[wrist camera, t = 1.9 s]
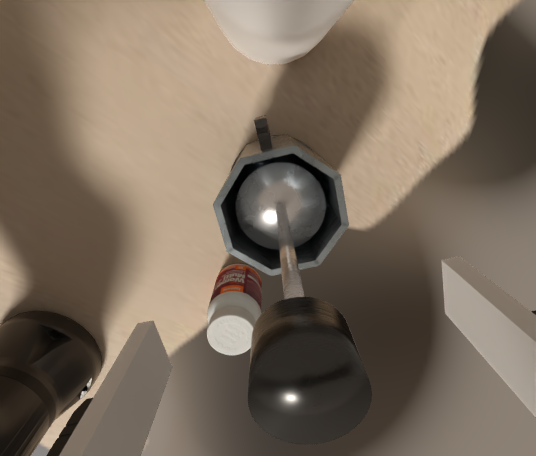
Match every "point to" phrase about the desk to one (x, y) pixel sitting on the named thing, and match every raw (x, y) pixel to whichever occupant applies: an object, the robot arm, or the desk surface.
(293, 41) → the can
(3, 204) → the desk surface
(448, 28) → the desk surface
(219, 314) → the pill bottle
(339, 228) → the grey octagonal container
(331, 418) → the plunger
